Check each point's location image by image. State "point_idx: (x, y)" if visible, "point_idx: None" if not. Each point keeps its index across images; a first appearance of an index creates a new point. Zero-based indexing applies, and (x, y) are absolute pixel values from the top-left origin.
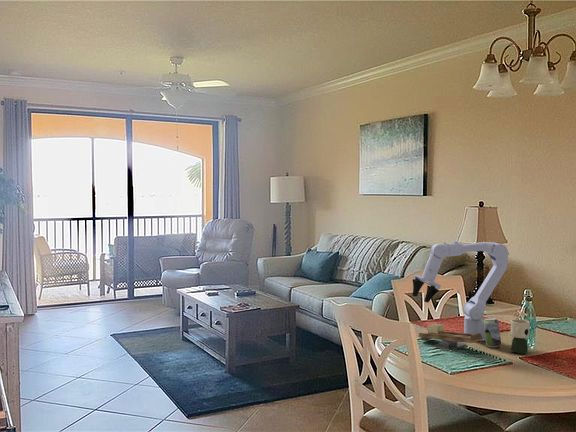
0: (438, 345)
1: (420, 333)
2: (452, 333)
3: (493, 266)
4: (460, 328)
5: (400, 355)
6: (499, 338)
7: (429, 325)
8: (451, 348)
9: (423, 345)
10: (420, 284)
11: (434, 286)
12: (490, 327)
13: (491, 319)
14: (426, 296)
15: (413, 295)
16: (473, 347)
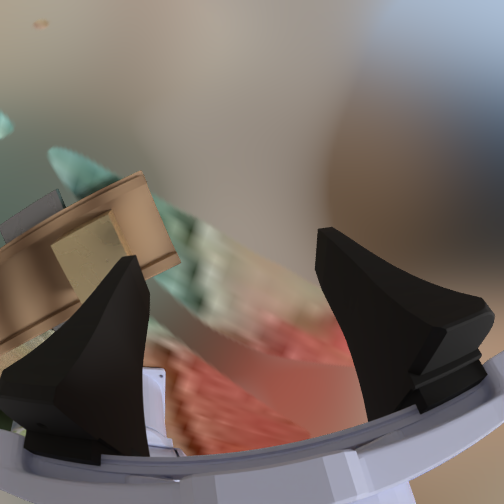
0: (48, 213)
1: (134, 178)
2: (61, 309)
3: None
4: (262, 408)
5: (33, 24)
6: None
7: (103, 226)
8: (8, 242)
9: (92, 164)
10: (375, 380)
11: (55, 461)
12: (13, 422)
13: None
14: (98, 290)
15: (319, 231)
16: (38, 337)
